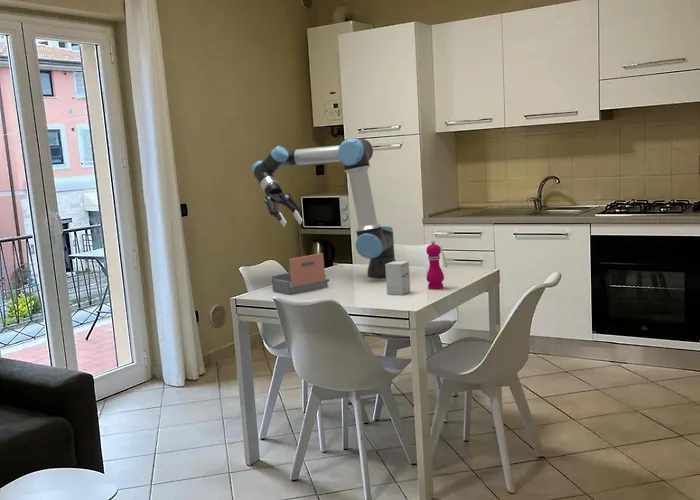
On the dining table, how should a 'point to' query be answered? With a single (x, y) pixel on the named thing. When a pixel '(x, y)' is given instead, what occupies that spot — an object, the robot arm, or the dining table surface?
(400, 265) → the supplement box
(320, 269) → the panel
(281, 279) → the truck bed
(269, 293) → the dining table surface
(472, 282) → the dining table surface
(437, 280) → the pepper mill
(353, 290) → the dining table surface
